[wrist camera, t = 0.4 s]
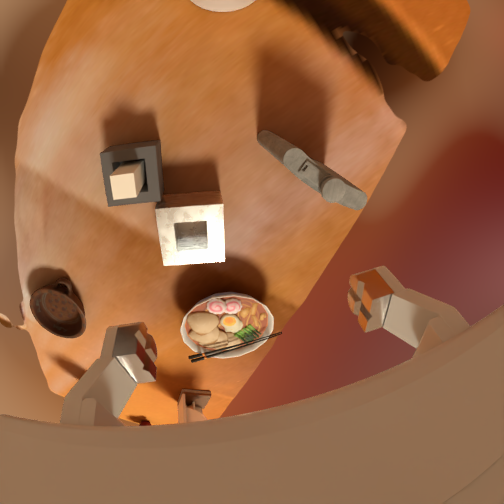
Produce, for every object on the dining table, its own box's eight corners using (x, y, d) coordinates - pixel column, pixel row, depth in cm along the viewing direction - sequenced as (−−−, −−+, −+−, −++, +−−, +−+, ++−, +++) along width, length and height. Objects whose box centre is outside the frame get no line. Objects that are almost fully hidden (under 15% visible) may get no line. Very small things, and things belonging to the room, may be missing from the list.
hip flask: (326, 166, 55) (379, 203, 38) (316, 181, 56) (364, 225, 40) (262, 127, 48) (297, 147, 32) (251, 145, 50) (280, 174, 33)
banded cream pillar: (203, 404, 98) (214, 483, 69) (177, 402, 94) (183, 483, 65) (210, 391, 93) (223, 478, 64) (182, 388, 89) (189, 478, 60)
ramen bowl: (262, 261, 65) (270, 283, 58) (278, 323, 78) (285, 345, 71) (161, 290, 64) (159, 314, 58) (195, 346, 77) (196, 369, 70)
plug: (124, 160, 46) (109, 176, 37) (144, 158, 46) (133, 172, 38) (127, 180, 48) (113, 199, 40) (146, 178, 49) (136, 197, 40)
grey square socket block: (109, 146, 44) (100, 153, 40) (160, 139, 46) (155, 145, 41) (116, 194, 50) (108, 206, 45) (164, 189, 51) (160, 201, 47)
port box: (159, 194, 52) (155, 209, 46) (220, 190, 54) (223, 204, 48) (166, 247, 58) (163, 265, 52) (221, 243, 60) (224, 261, 54)
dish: (36, 318, 62) (31, 330, 58) (36, 261, 53) (28, 273, 49) (86, 337, 69) (83, 350, 65) (95, 285, 60) (90, 298, 56)
